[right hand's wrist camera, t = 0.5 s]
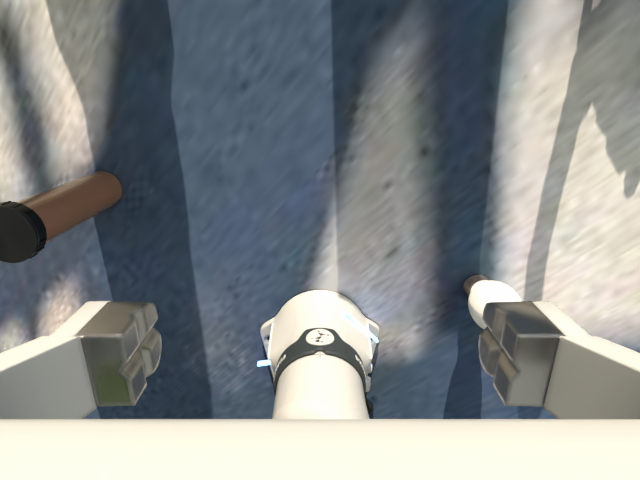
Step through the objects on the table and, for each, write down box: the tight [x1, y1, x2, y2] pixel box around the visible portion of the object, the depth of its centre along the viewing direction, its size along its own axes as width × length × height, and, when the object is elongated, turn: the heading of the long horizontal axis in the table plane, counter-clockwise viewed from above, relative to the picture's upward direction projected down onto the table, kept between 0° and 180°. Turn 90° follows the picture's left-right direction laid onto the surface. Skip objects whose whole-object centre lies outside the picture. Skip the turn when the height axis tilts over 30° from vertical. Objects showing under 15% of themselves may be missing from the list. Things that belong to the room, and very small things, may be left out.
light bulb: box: [463, 275, 522, 329], centre depth 58 cm, size 7×7×11 cm
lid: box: [0, 201, 47, 263], centre depth 41 cm, size 6×6×2 cm
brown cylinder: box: [17, 171, 122, 244], centre depth 49 cm, size 5×5×19 cm
